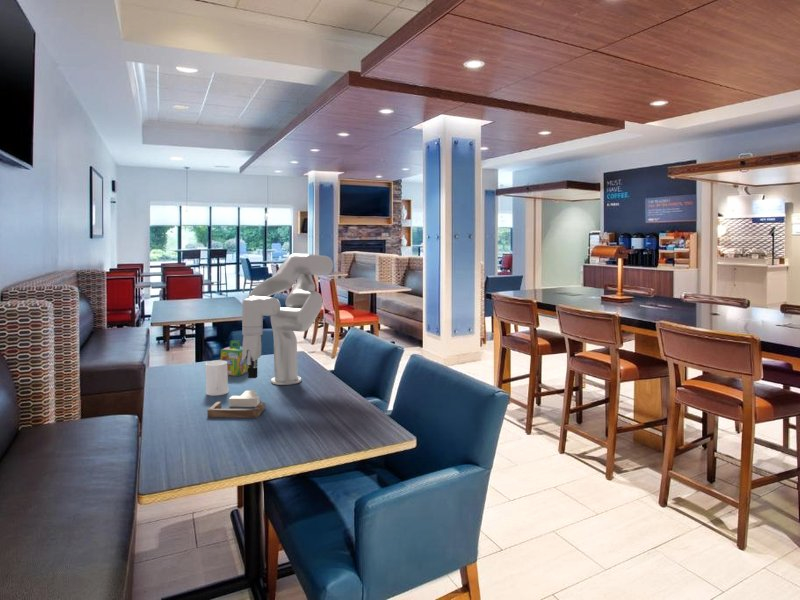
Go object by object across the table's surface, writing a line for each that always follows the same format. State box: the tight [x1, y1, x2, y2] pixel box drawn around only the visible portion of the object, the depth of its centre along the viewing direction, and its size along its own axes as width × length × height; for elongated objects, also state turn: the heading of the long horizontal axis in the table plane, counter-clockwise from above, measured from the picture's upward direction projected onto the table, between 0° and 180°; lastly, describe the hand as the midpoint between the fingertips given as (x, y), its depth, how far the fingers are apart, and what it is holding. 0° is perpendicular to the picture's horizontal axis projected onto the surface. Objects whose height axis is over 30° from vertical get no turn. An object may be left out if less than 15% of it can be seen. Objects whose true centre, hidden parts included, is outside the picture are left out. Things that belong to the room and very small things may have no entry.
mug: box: [205, 359, 230, 396], centre depth 204 cm, size 12×8×12 cm
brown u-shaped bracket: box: [206, 401, 265, 419], centre depth 182 cm, size 9×17×2 cm, turn 89°
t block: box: [228, 390, 261, 408], centre depth 194 cm, size 10×10×3 cm
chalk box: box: [220, 340, 248, 377], centre depth 234 cm, size 9×9×15 cm
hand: (252, 377), depth 202 cm, fingers closed
